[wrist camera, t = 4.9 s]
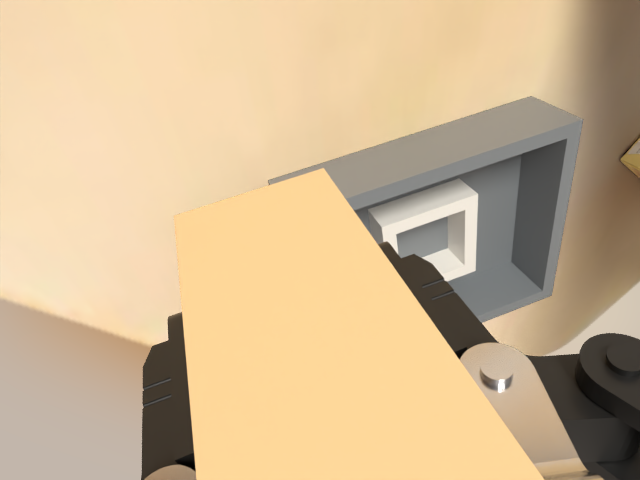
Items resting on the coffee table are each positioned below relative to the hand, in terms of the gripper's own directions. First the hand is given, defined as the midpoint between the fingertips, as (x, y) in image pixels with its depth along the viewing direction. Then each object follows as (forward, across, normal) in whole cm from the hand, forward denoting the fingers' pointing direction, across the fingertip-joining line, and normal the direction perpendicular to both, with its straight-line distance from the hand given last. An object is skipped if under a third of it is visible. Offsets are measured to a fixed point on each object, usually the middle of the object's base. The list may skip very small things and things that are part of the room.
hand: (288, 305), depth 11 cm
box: (+19, -12, +15) cm, 27 cm away
